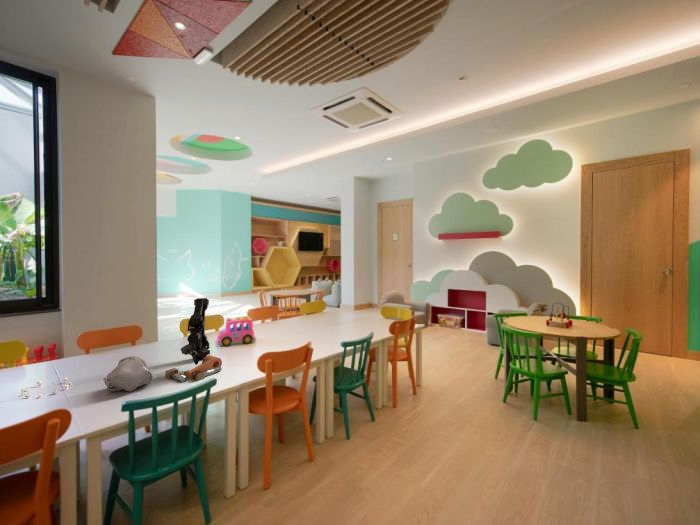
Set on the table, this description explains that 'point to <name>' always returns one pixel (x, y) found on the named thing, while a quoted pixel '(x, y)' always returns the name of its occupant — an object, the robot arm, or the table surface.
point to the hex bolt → (174, 375)
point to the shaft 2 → (204, 373)
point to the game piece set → (40, 385)
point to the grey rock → (128, 375)
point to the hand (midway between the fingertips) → (196, 364)
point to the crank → (204, 365)
